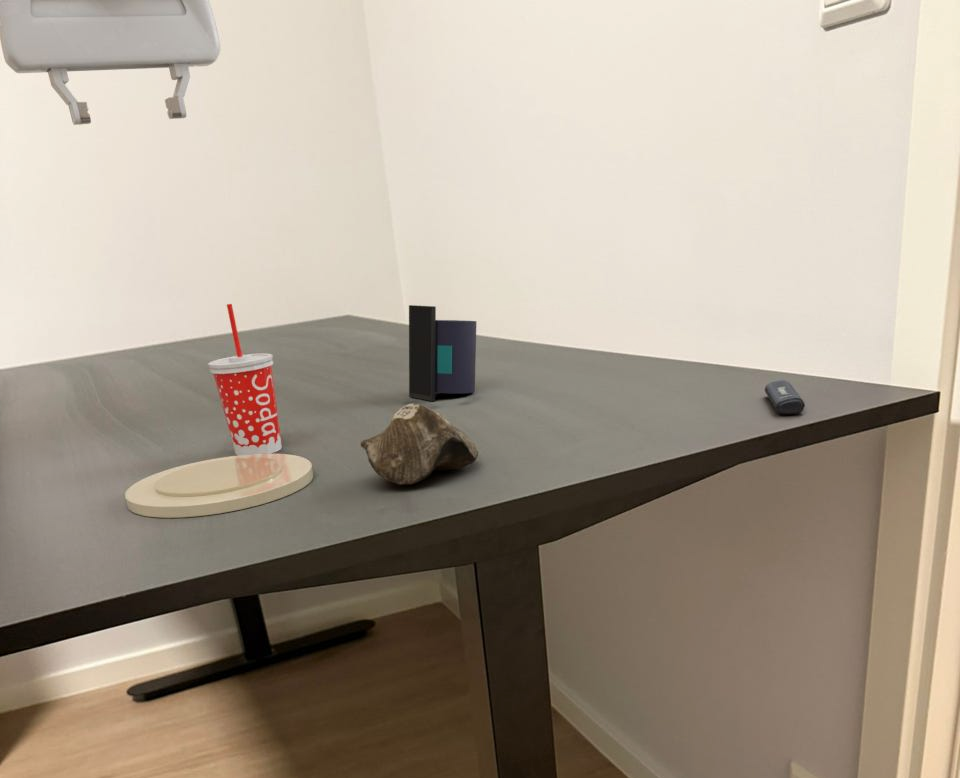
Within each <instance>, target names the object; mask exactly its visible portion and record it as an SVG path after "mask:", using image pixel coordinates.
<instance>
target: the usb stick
mask: <svg viewBox="0 0 960 778" xmlns="http://www.w3.org/2000/svg"><path fill="white" fill-rule="evenodd" d="M764 392H765V394H766V395H767V398H768V399H769V401H770V402H771V404H772V406H773V407H774V409H775V410H776V412H777V413H778V414H779V415H786V416H788V415H792V416H793V415H797V414H800V413H802V412H804V409H805V406H806V404H805V401H804V400H803V399H802V397H801V396H800V395H799V393H798V392H797V390H796V389H795V388H794V387H793V385H792V384H791V383H790V382H789V380H785V379H780V380H775V381H771V382H769V383H767V384H766V385H765V386H764Z"/></svg>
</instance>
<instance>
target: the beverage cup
mask: <svg viewBox="0 0 960 778" xmlns="http://www.w3.org/2000/svg"><path fill="white" fill-rule="evenodd" d="M226 309H227V313H228V317H229V323H230V328H231V334H232V338H233V342H234V343H233V344H234V348H235V352H236V355H233V356H227V357H224V358H223V357H222V358H219V359H215V360H211V361H210V362H208V363H207V366H208V368H209V373H211V374H213V378H214V381H215V385H216V389H217V393H218V396H219V399H220V403H221V407H222V410H223V413H224V417H225V421H226V424H227V428H228V431H229V435H230V439H231V443H232V447H233V449H234V450H233V451H234V453H235V456H238V455H249V454H275V453H277V452H279V451H281V450H282V448H283V446H282V437H281V429H280V420H279V414H278V406H277V400H276V399H277V398H276V391H275V383H274V375H273V367H272V366H273V365H274V360H273V359H274V356H273V354H271V353H249V354H248V353H247V354H243V353H242V348H241V343H240V339H239V338H240V337H239V332H238V328H237V323H236V318H235V314H234V308H233V304H232V303H227V304H226Z"/></svg>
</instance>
